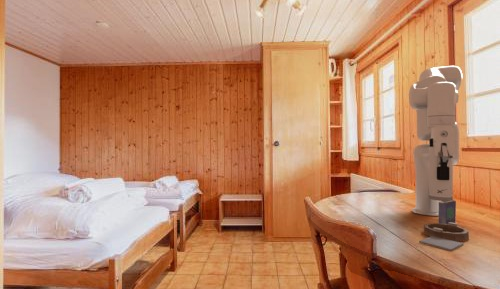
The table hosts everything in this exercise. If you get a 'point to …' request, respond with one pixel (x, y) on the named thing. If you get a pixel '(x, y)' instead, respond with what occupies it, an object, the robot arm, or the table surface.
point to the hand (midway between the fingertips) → (441, 178)
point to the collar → (451, 230)
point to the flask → (447, 212)
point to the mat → (441, 243)
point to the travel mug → (439, 188)
